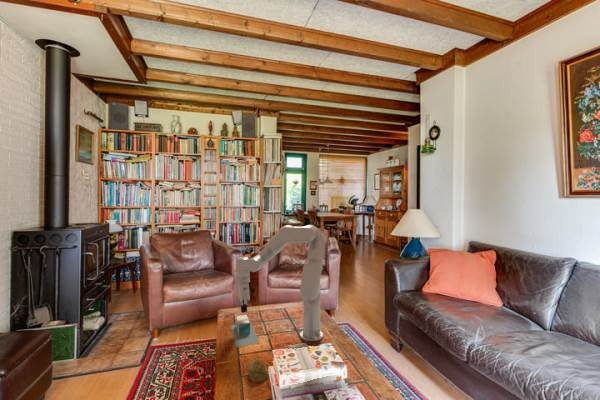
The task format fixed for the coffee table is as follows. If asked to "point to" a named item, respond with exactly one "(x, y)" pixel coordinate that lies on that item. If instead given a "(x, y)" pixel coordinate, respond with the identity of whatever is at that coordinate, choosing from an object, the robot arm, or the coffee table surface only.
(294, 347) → the fossil replica
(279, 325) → the coffee table surface
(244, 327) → the maple block
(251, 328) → the rubber mat
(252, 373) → the dark olive rounded lump
